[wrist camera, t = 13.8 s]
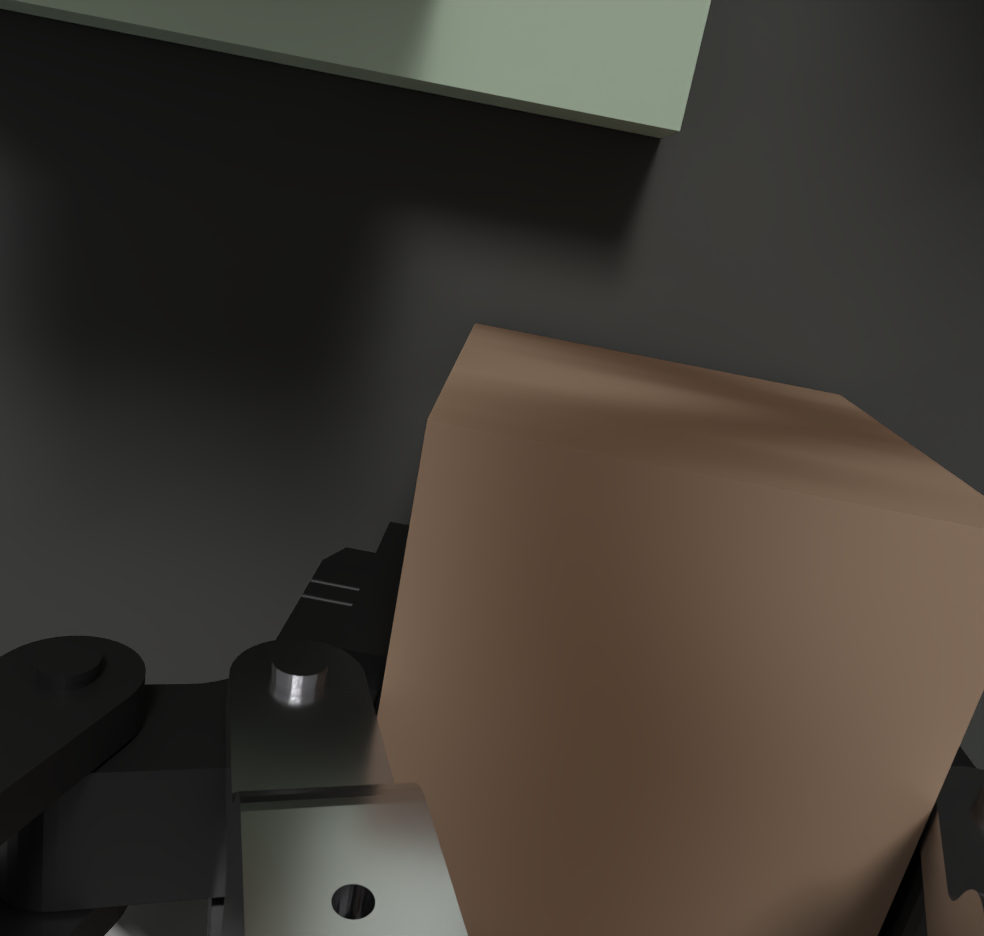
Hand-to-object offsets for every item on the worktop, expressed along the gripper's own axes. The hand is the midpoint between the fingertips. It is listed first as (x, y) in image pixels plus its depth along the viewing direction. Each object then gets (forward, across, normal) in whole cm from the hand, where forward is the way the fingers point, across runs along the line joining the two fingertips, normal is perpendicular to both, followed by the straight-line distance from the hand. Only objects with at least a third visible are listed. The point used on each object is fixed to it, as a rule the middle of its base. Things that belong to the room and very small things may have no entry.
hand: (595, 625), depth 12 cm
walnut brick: (+1, 0, 0) cm, 1 cm away
